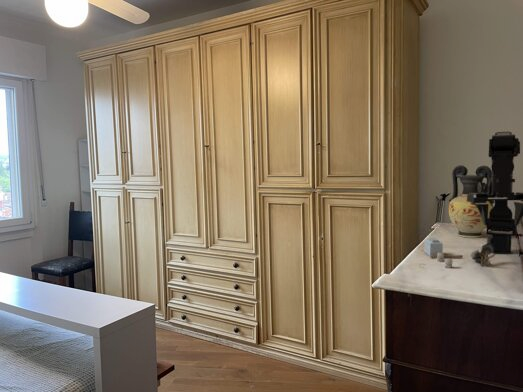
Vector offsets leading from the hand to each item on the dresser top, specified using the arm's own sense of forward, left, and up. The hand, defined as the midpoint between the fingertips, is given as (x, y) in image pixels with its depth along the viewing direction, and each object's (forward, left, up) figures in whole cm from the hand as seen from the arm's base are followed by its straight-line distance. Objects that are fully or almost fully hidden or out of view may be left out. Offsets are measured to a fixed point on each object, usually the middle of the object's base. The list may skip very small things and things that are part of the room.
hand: (500, 225), depth 128 cm
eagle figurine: (+5, +1, -13) cm, 14 cm away
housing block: (+17, -11, -12) cm, 23 cm away
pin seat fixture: (+14, -3, -12) cm, 19 cm away
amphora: (-8, -46, -12) cm, 48 cm away
